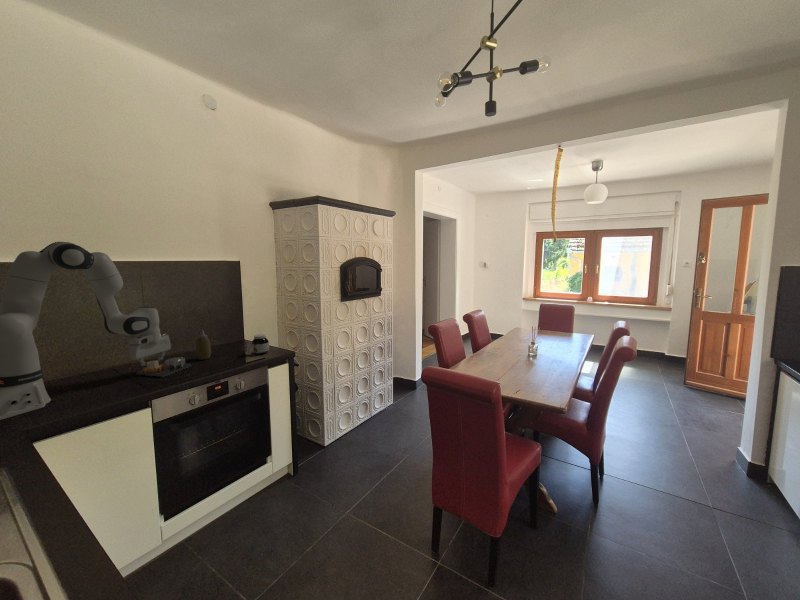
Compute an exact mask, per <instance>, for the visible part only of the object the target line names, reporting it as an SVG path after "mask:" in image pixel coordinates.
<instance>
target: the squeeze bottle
mask: <svg viewBox="0 0 800 600" xmlns="http://www.w3.org/2000/svg"><path fill="white" fill-rule="evenodd" d="M195 345H196V346H195V355H196V357H197V359H198V360H201V361H203V360H204V359H205V360H208V359H210V358H211V354H212V349H211V347H212V346H211V343H210V338H208V335H207V334H205V331H204V329H202V328H201V329H200V334H199V335H197V339H196V344H195Z"/></svg>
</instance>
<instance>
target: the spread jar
mask: <svg viewBox="0 0 800 600" xmlns="http://www.w3.org/2000/svg"><path fill="white" fill-rule="evenodd" d="M269 350H270V343H269V340H268V338H267V337H266V334H262V333H261V334H255V335H254V336H253V339H252V341H251V343H249V344H248V345H247V348H246V356H247V355H248V356H250V355H252V354H254V355H256V354H257V355H259V356H260V355H265V354H267V353H268V352H269Z"/></svg>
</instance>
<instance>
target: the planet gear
mask: <svg viewBox="0 0 800 600" xmlns="http://www.w3.org/2000/svg"><path fill="white" fill-rule="evenodd" d="M151 361H152V360H149V361H147V362H146V366H145V367H144V368H142V370H143V372H145V373H147V372H156V371H161V370H162V369H164V366H162V365H160V364H159V362H160V361H159V360H158V359H157V360H153V361H155V362H152V363H151ZM142 370H141V371H142Z"/></svg>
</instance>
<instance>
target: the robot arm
mask: <svg viewBox="0 0 800 600" xmlns="http://www.w3.org/2000/svg"><path fill="white" fill-rule="evenodd" d="M58 268H62V269H65V270H74V271H75V270H82V271H83V272H84V273H85V275H86V277H87V279H88V281H89V283H90V285H91V287H92V288H93V291H94V296H95V299H96V301H97V303H98V306H99V308H100V311H101V313H102V315H103V321H104V322H103V324H104V328H105V331H106V332H108V333H109V334H112V335H126V336H128V335H129V336H134V335H135V336H134V337H132V338H130V339H129V340H128V343H129V347H128V356H129V359H131V360H137V361H139V363H140V366H141V367H144V366H145V367H146V366H147V362H146V361H144V359H145V358H147V357H149V356H153V355H156V354H159V356H158V357H157V360H158V361H159V362H160V361H161V362H162V361H163V360H164V356H165V354H166V352H167V351H170V350H171V348H172V343H171V340H170V335H169V334H167V333H163V334H161V328H160V317H159V311H158V309H157V308H155V307H153V306H151V307H150V306H140V307H138V308H137V309H136V310H134V311H133V312H131V313H130V314H129V313H128V314H124V313H122V312H121V311H120V309H119V306H118V304H117V302H116V299H115V296H116V294H117V293H119V292H120V291H121V290H122V288H123V287H124V281H123V277H122V276H121V273H120V271H119V270H118V268H117V266H116V264H115V263H114V262H113V260H112V259H111V258H110V256H109V255H108V254H106V253H104V252H100V251H93V252H90V251H88V250H86V249H85V248H84V247H81V246H80V245H77V244H76V243H73V242H69V241H54V242H52V243H50V244H48V245H47V246H45V247H44V248H43V249H41V250H39V251H34V250H26V251H22V252H20V253H19V254H18V255H17V257H16V258H15V259H14V261H13V262H12V264H11V266H10V268H9V271H8V273H7V277H6V279H5V282H4V284H3V285H4V286H3V288H2V291H1V296H0V297H1V298H0V421H1V420H5V419H9V418H12V417H15V416H18V415H21V414H25V413H29V412H32V411H36V410H39V409H42V408H44V407H46V405H47V404H49V403H50V402H51V401H52V399H51V397H50V396H49V394H48V392H47V390H46V386H45V383H44V370H43V368H41V363H40V355H39V349H38V348H37V345H36V342H35V337H34V333H33V332H34V330H35V329H36V327H37V325H38V321H39V317H40V314H41V310H42V305H43V301H44V298H45V294H46V291H47V288H48V285H49V282H50V278H51V275H52V274H53V272H54V271H55V270H56V269H58Z"/></svg>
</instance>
